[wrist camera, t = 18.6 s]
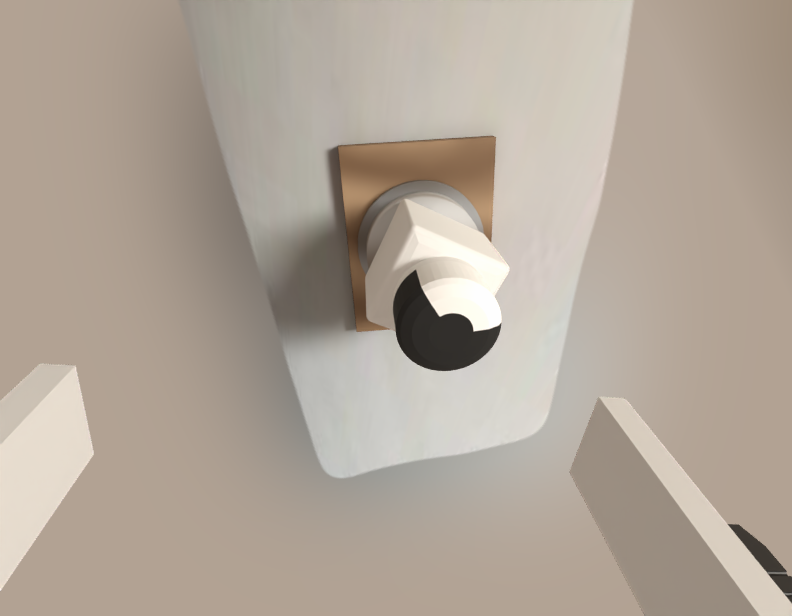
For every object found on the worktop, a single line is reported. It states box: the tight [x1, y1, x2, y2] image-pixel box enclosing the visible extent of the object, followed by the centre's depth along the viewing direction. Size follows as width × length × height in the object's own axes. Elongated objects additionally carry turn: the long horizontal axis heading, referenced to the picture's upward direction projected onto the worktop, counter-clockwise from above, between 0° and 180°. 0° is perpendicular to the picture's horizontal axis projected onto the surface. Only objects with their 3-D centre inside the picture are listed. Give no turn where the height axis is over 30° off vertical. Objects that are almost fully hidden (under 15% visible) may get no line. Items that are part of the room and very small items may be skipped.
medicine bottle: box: [365, 199, 509, 371], centre depth 31 cm, size 7×7×12 cm
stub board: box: [338, 136, 496, 332], centre depth 39 cm, size 16×12×4 cm
